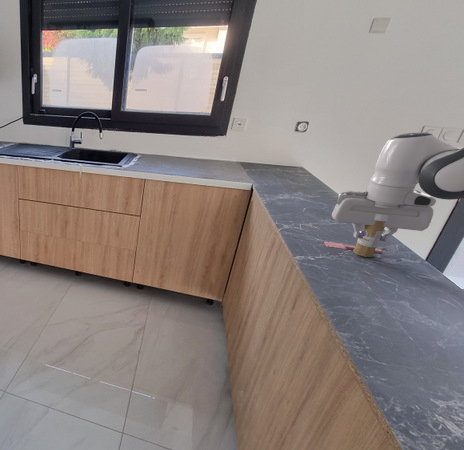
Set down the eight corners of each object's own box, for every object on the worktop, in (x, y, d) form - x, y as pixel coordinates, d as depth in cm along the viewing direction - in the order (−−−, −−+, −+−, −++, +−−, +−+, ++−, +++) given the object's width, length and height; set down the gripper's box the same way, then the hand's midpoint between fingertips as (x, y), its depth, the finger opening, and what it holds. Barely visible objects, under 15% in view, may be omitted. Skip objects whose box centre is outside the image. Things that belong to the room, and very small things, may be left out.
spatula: (377, 249, 98) (378, 247, 98) (383, 255, 95) (384, 253, 95) (323, 242, 104) (324, 240, 104) (327, 247, 101) (327, 245, 100)
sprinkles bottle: (348, 251, 94) (364, 210, 89) (361, 249, 95) (378, 208, 90) (364, 258, 90) (382, 215, 85) (377, 257, 91) (395, 214, 86)
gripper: (344, 193, 87) (328, 237, 92) (445, 201, 79) (422, 249, 84) (336, 187, 92) (322, 229, 97) (431, 194, 84) (409, 240, 89)
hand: (369, 238), depth 91 cm, fingers closed on sprinkles bottle, 4 cm apart
